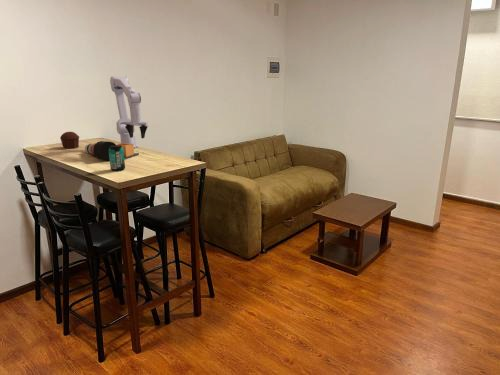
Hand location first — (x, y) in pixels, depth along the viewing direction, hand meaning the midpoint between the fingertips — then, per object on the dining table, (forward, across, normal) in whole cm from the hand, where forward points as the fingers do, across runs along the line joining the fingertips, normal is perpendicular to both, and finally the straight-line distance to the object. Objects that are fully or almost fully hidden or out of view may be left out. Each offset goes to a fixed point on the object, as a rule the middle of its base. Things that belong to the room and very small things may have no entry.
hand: (137, 137), depth 233 cm
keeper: (+9, -4, -10) cm, 14 cm away
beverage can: (+10, +12, -37) cm, 40 cm away
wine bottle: (+10, -18, -14) cm, 25 cm away
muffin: (+10, -51, +2) cm, 52 cm away
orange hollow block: (+8, -3, -10) cm, 13 cm away
